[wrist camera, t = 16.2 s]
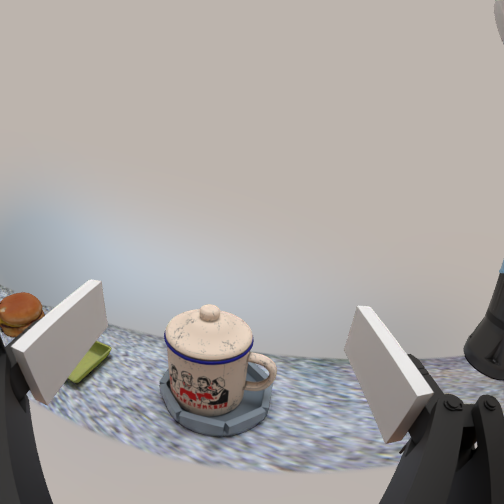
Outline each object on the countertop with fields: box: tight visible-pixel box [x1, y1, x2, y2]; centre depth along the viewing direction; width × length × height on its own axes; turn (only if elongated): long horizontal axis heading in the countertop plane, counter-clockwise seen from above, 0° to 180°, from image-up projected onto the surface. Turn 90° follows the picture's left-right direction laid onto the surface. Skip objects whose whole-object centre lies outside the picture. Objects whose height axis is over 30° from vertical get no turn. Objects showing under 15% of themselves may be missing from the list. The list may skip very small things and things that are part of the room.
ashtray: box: [159, 362, 273, 436], centre depth 29 cm, size 13×13×2 cm
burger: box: [0, 292, 45, 337], centre depth 32 cm, size 10×9×5 cm
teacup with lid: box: [164, 304, 277, 416], centre depth 27 cm, size 12×9×12 cm
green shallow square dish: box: [68, 341, 112, 383], centre depth 29 cm, size 9×9×2 cm
